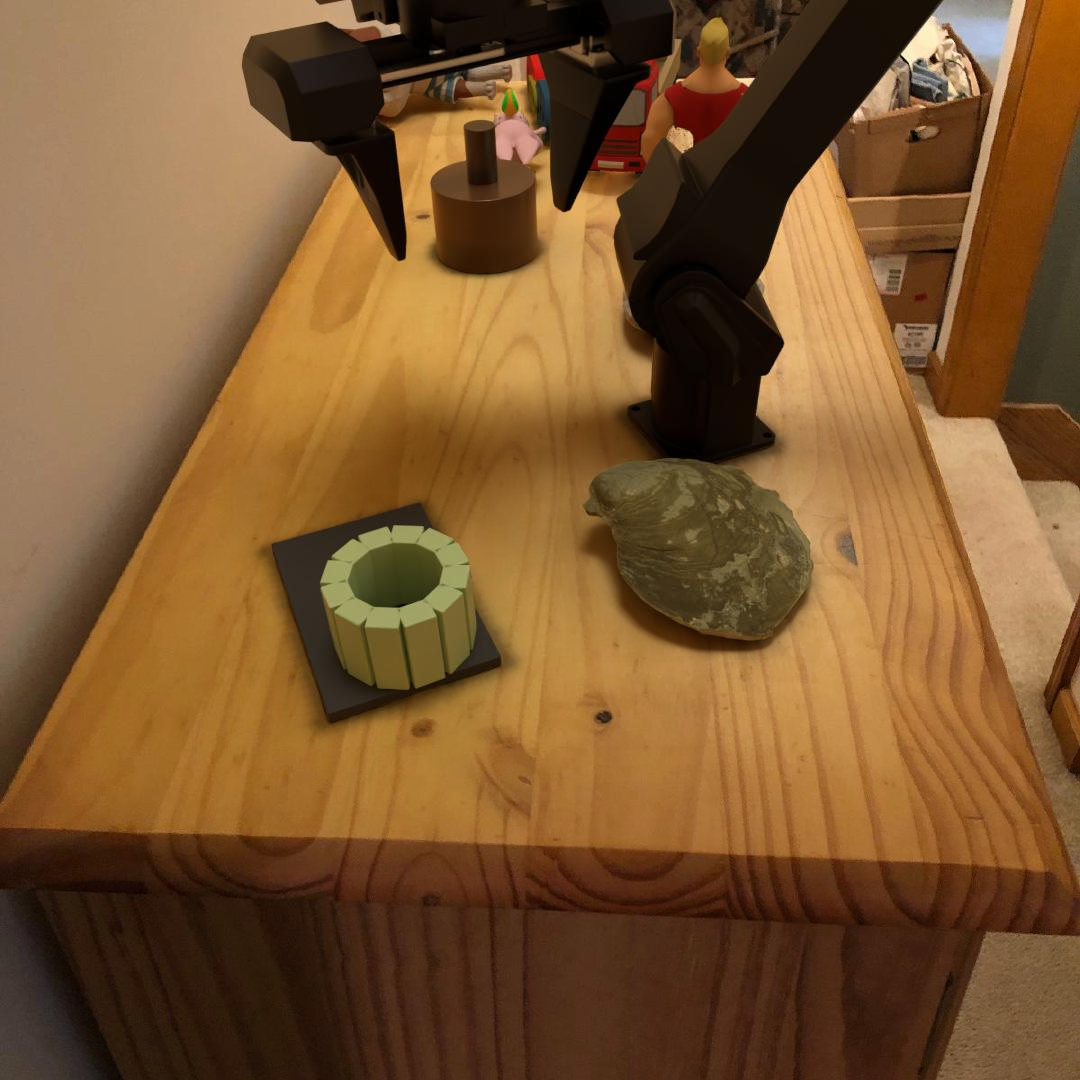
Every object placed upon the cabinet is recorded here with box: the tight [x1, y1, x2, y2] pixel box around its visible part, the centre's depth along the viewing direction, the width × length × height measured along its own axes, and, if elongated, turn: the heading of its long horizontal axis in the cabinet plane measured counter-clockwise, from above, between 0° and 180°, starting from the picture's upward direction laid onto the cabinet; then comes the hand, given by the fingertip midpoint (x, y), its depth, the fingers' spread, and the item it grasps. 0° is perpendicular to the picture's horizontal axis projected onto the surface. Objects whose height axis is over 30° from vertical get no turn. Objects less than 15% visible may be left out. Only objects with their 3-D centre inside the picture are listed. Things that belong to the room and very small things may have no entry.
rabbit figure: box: [491, 88, 546, 166], centre depth 87 cm, size 6×6×15 cm
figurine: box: [338, 25, 513, 118], centre depth 99 cm, size 8×18×15 cm
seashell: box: [581, 457, 815, 641], centre depth 49 cm, size 10×7×10 cm
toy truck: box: [589, 38, 682, 175], centre depth 87 cm, size 7×21×10 cm, turn 167°
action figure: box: [641, 16, 749, 163], centre depth 73 cm, size 10×4×15 cm, turn 80°
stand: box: [429, 119, 539, 274], centre depth 74 cm, size 8×8×9 cm
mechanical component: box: [525, 54, 550, 142], centre depth 96 cm, size 17×4×3 cm
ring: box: [320, 525, 477, 690], centre depth 46 cm, size 6×6×4 cm
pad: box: [271, 501, 502, 723], centre depth 49 cm, size 12×8×1 cm, turn 23°
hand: (482, 232), depth 50 cm, fingers open, 9 cm apart
